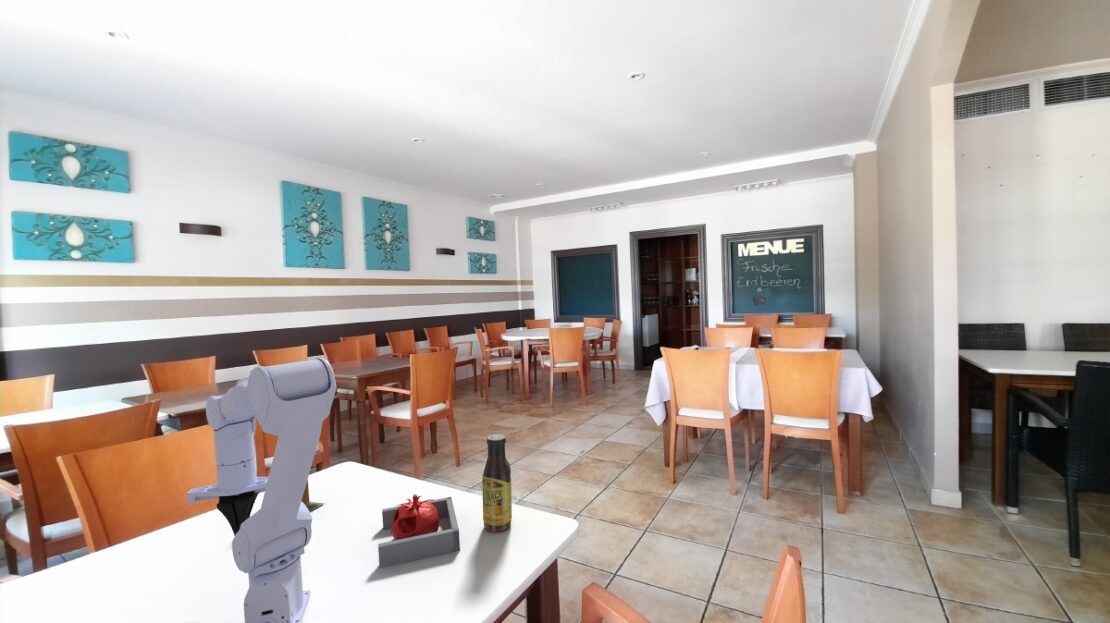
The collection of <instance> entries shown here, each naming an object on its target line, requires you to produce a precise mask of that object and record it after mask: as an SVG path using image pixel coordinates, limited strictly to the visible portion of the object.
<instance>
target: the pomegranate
mask: <svg viewBox="0 0 1110 623" xmlns="http://www.w3.org/2000/svg"><path fill="white" fill-rule="evenodd" d="M421 497H422V495H418V494H413V495H412V500H411V499H410V498H407V499H405V501H408V502H404V503H399V504H397V505H396V507H398V506H400V507H398V509H397V510H396V512H395V514H394V516H393V525H392V527H391V528H390V532H391V534H392V537H393V538H394V541H395V540H400V539H405V538H409V537H414V536H419V535H424V534H429V533H434V532H439V527H440V520H439V519H438V513H437V509H436V507H435V506H434V505H432V504H431V503H430V502H428V501H431V500H435V498H433V499H429V498H428V499H426V500H420V498H421Z"/></svg>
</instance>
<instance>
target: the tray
mask: <svg viewBox="0 0 1110 623" xmlns="http://www.w3.org/2000/svg"><path fill="white" fill-rule="evenodd" d="M428 502H430V503H431V504H432V505H434V506H435V507H436V509H437V513H438V520H439V519H443V518H444V519H445V518H447V522H448V528H449V529H444V530H441V531H440V530H438V531H437V532H434V533H429V534H424V535H419V536H414V537H409V538H405V539H400V540H395V539H394V540H391V541H385V542H382V543H381V542H380V543H378V544H377V548H378V549H377V550H378V551H377V552H378V564H379V565H378V567H379V569H380V568H384V567H389V566H394V565H398V564H403V563H407V562H413V561H417V560H421V559H425V558H430V557H435V556H438V555H444V554H449V553H452V552H457V551H460V550H461V543H460V542H461V541H460V530H459V524H458V520H457V515H456V510H455V508H454V503H453V499H452V496H448V497H442V498H436V499H434V500H429V501H428ZM400 506H401V505H399V506H393V507H388V508H382V510H381V514H382V515H381V516H382V530H387V529H391V527H392V525H393V516H394V514H395V512H396V510H397V509H398V507H400Z"/></svg>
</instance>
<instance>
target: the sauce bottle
mask: <svg viewBox="0 0 1110 623" xmlns="http://www.w3.org/2000/svg"><path fill="white" fill-rule="evenodd" d="M506 438H507V437H506V436H505V434H502V433H500V434H498V433H497V434H496V433H494V434H490V435H488V436H487V437H486V444H487V459H486V463H485V466H484V469H483V474H482V481H481V482H482V521H483V527H484V528H485V529H486V530H487V531H489V532H494V533H495V532H497V533H499V532H504V531H505V530H507V529H509V527H510V526H512V519H513V516H512V515H513V513H512V512H513V510H512V509H513V508H512V507H513V506H512V503H513V502H512V475H511V474H512V471H511V468H512V467H511V465H510V463H509V461H508V460H507V457H506V442H507V441H506V440H507V439H506Z"/></svg>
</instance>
